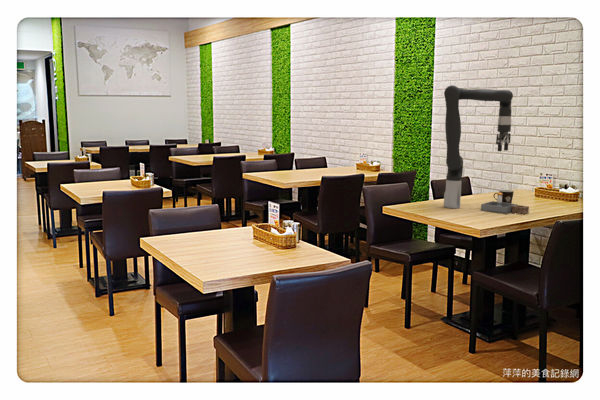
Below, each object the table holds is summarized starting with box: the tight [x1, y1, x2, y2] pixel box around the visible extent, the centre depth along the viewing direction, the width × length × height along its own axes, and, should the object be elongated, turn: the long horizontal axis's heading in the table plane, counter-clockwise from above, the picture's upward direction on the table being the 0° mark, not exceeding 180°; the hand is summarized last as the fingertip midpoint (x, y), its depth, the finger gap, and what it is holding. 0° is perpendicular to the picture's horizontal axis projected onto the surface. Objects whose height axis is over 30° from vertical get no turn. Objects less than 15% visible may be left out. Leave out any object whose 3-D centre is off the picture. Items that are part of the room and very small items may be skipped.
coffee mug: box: [493, 189, 514, 204], centre depth 349 cm, size 12×9×10 cm
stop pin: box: [496, 191, 503, 206], centre depth 333 cm, size 3×3×10 cm
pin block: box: [511, 204, 530, 216], centre depth 326 cm, size 7×7×4 cm
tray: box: [480, 200, 518, 215], centre depth 334 cm, size 16×15×4 cm
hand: (502, 150), depth 333 cm, fingers open, 8 cm apart
